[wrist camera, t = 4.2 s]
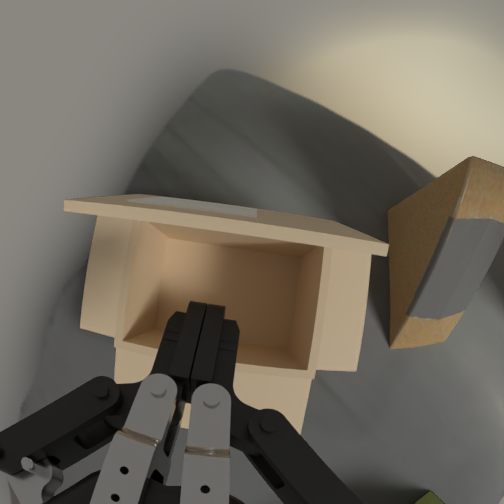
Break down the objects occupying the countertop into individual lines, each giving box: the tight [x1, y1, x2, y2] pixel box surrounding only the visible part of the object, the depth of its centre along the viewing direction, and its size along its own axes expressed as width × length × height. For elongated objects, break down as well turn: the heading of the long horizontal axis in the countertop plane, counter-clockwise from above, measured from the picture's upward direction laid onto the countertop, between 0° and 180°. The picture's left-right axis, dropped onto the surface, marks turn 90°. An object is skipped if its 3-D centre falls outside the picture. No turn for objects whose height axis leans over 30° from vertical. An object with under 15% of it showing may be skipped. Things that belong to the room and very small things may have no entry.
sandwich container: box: [387, 156, 504, 349], centre depth 22 cm, size 9×15×15 cm, turn 179°
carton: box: [80, 215, 371, 434], centre depth 23 cm, size 20×15×9 cm
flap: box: [64, 194, 389, 257], centre depth 15 cm, size 14×9×1 cm
